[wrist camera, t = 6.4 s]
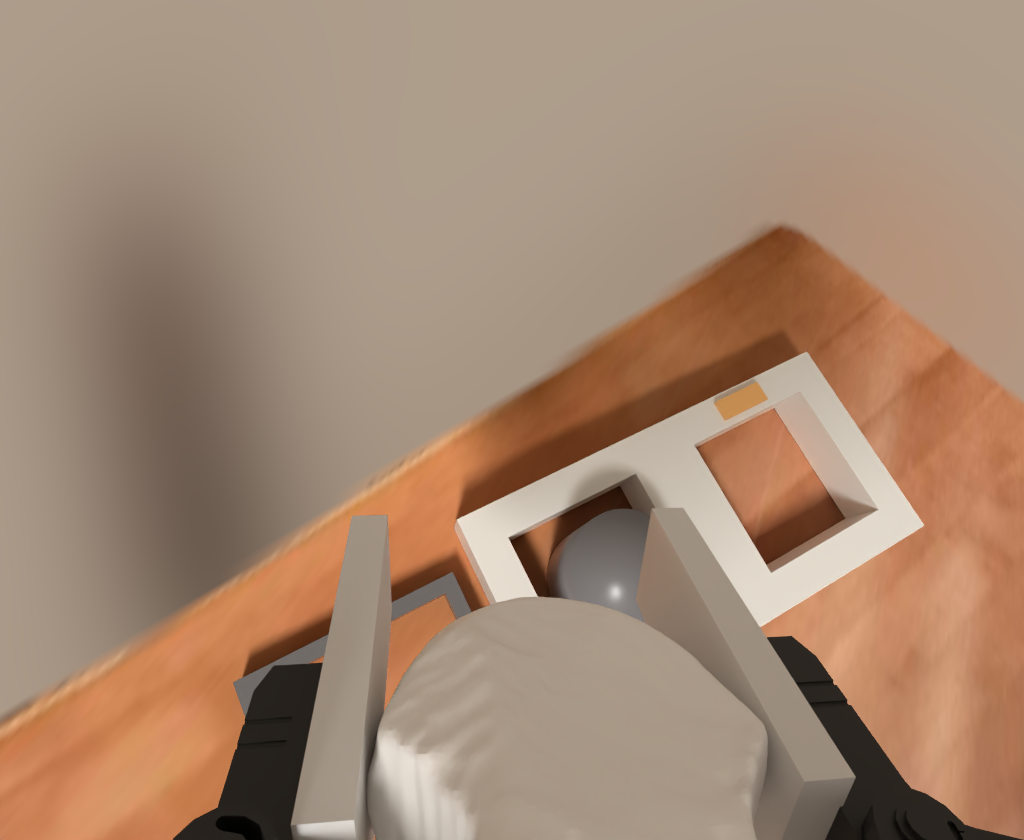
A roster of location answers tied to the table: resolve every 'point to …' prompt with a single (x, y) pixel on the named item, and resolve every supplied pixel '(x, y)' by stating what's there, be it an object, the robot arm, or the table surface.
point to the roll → (563, 734)
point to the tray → (399, 608)
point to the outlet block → (698, 504)
